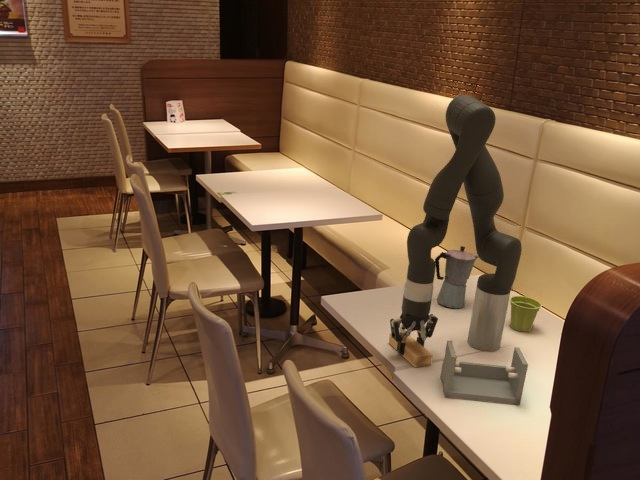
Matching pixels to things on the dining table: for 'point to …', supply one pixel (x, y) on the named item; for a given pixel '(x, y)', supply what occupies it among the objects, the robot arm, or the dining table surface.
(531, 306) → the plant pot
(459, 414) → the dining table surface
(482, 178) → the robot arm
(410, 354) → the shelf board
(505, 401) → the grey rack
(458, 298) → the moka pot
